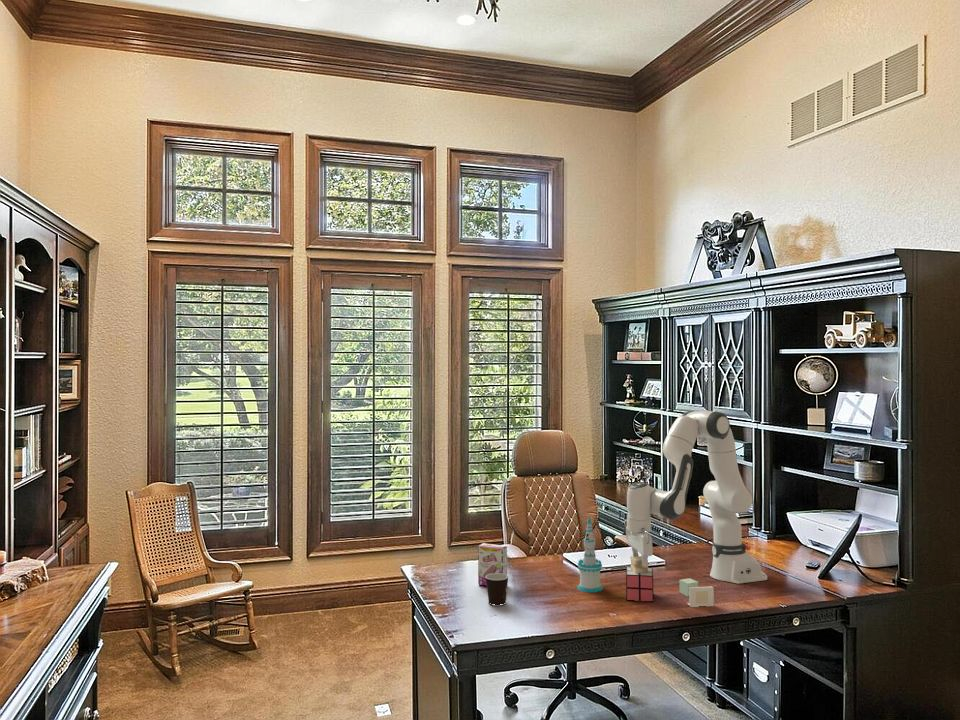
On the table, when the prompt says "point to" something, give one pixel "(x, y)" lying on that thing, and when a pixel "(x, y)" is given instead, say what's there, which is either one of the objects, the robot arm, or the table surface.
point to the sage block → (687, 585)
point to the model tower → (589, 564)
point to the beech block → (638, 565)
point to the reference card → (701, 596)
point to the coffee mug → (497, 588)
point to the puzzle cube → (639, 585)
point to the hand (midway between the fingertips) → (639, 561)
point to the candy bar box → (491, 561)
